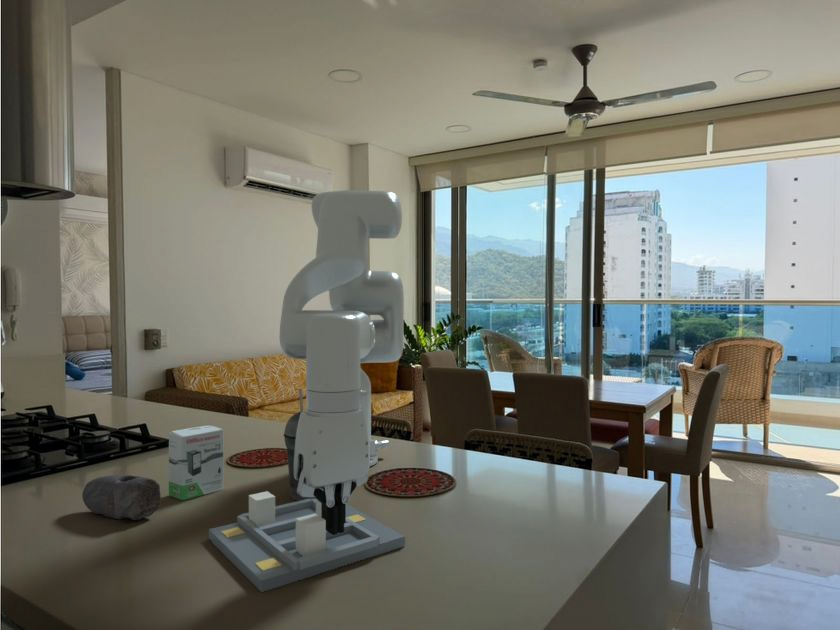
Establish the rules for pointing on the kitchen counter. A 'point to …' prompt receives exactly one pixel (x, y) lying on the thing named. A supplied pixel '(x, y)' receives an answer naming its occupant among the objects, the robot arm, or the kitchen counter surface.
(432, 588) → the kitchen counter surface
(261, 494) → the tab
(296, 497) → the beverage cup
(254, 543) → the switch board
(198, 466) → the ink box
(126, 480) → the perforated stone tool
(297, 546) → the tab
